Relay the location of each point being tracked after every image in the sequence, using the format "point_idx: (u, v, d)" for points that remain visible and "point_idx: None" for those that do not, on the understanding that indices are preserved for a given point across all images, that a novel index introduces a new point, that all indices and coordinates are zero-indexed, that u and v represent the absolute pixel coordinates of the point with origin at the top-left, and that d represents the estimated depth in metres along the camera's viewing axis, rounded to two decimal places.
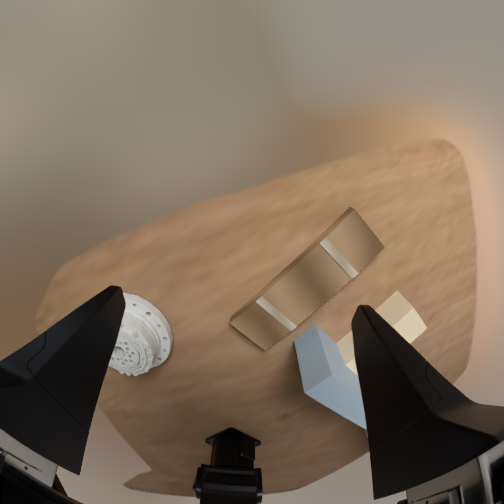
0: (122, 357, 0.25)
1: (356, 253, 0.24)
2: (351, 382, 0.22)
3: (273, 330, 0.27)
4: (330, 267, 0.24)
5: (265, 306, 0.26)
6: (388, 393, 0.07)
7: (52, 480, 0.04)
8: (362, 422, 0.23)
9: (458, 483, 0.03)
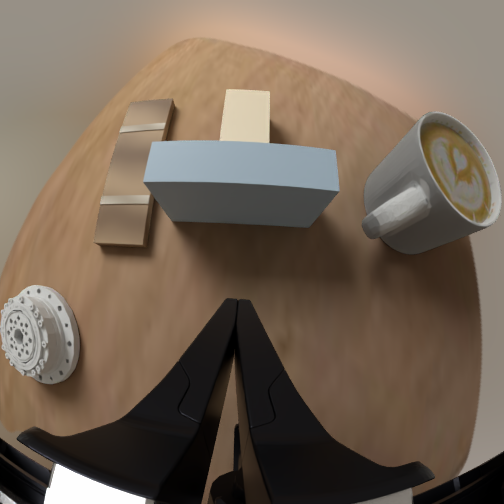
0: (23, 343, 0.16)
1: (152, 116, 0.24)
2: None
3: (132, 216, 0.22)
4: (139, 137, 0.23)
5: (110, 201, 0.22)
6: (240, 398, 0.06)
7: None
8: (301, 178, 0.16)
9: None
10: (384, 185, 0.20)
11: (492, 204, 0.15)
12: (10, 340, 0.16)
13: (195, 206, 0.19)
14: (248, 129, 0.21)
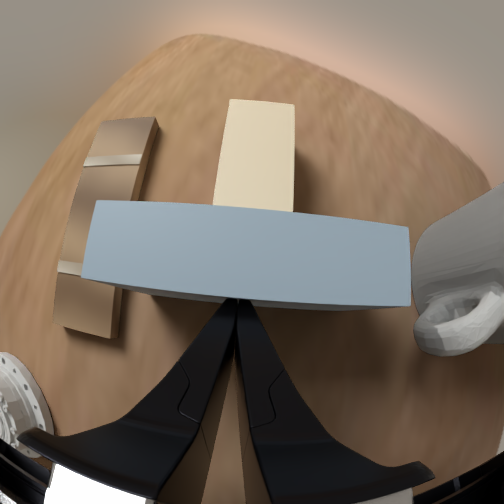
0: None
1: (126, 143, 0.17)
2: None
3: (95, 296, 0.15)
4: (107, 174, 0.17)
5: (69, 269, 0.15)
6: (240, 399, 0.06)
7: None
8: (354, 288, 0.09)
9: None
10: (448, 270, 0.13)
11: None
12: None
13: (176, 295, 0.12)
14: (261, 166, 0.14)
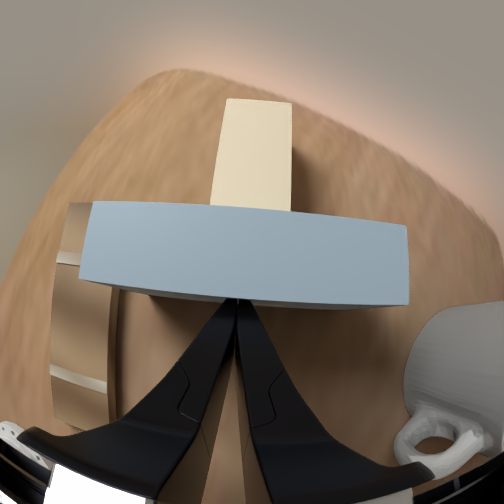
0: None
1: None
2: None
3: (90, 403, 0.13)
4: None
5: (61, 374, 0.13)
6: (240, 399, 0.06)
7: None
8: (352, 287, 0.09)
9: None
10: (438, 391, 0.11)
11: None
12: None
13: None
14: (258, 166, 0.14)
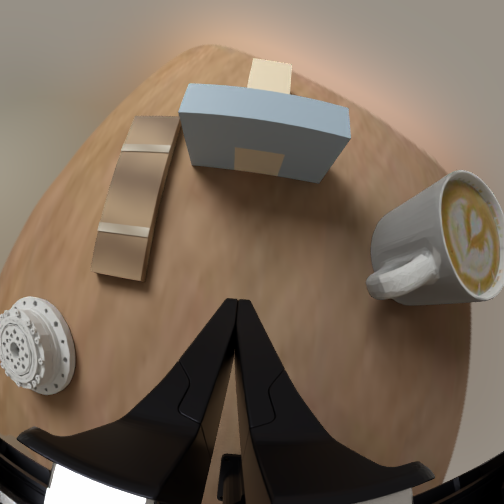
0: (19, 357, 0.15)
1: (157, 135, 0.23)
2: None
3: (130, 249, 0.21)
4: (142, 158, 0.23)
5: (108, 228, 0.21)
6: (240, 399, 0.06)
7: None
8: (318, 124, 0.17)
9: None
10: (394, 241, 0.20)
11: (499, 271, 0.15)
12: (6, 352, 0.15)
13: (219, 146, 0.20)
14: (271, 91, 0.22)
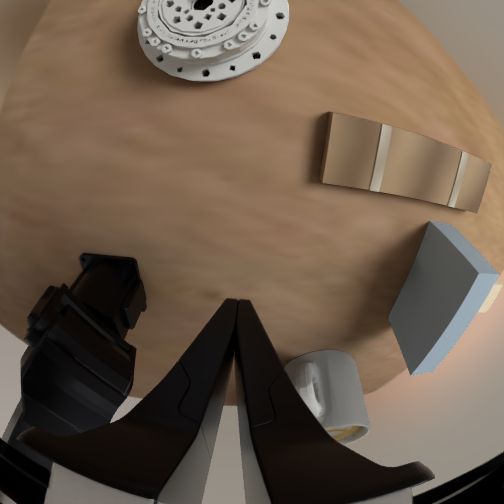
0: (190, 10, 0.10)
1: (466, 191, 0.17)
2: None
3: (358, 169, 0.17)
4: (449, 176, 0.17)
5: (383, 139, 0.16)
6: (240, 399, 0.06)
7: None
8: (427, 359, 0.19)
9: None
10: (332, 379, 0.26)
11: None
12: None
13: (439, 270, 0.19)
14: None
